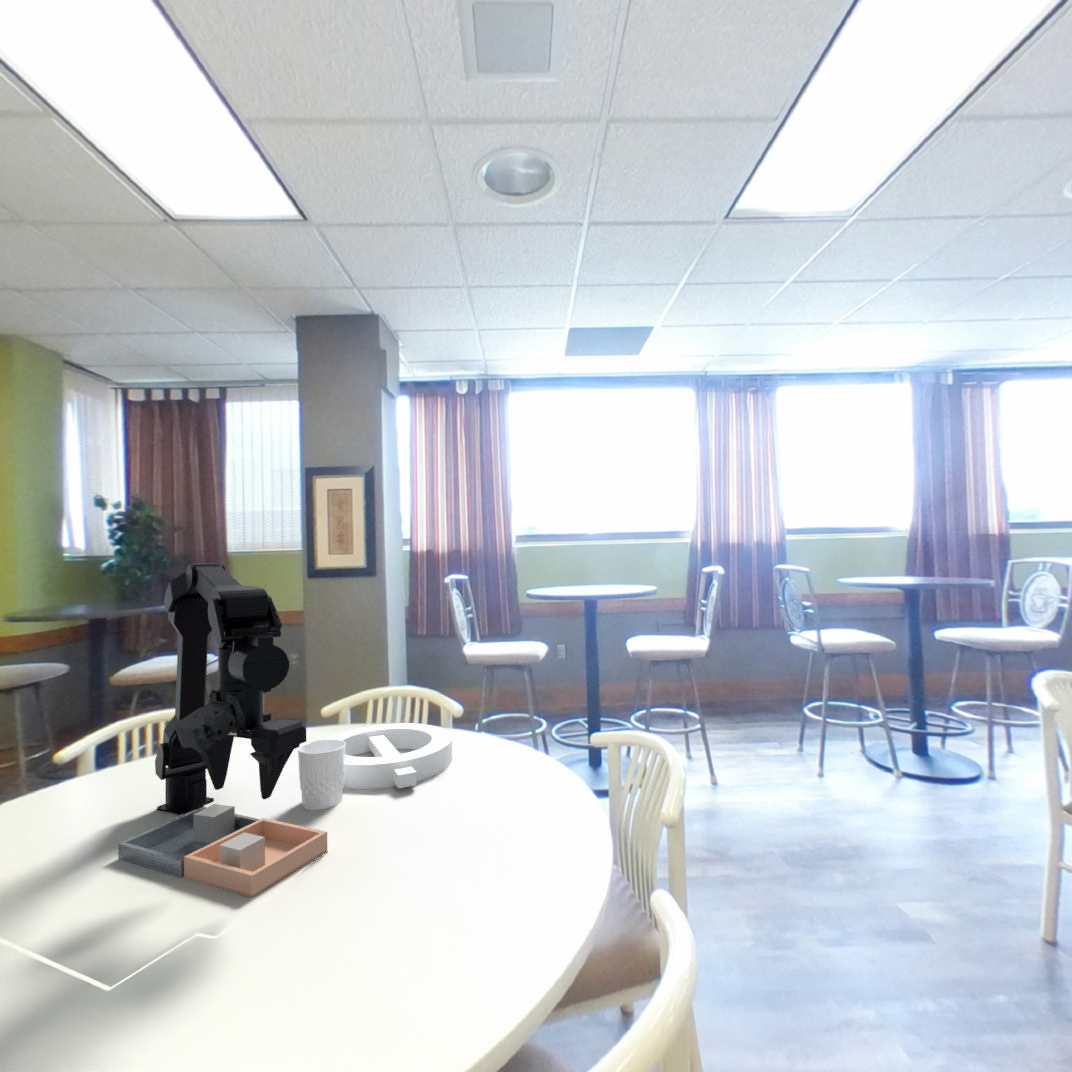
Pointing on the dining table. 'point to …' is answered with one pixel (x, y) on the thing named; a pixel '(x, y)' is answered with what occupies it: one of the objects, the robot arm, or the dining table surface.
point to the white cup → (321, 773)
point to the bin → (168, 845)
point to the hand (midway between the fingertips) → (242, 793)
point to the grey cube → (213, 823)
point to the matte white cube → (243, 852)
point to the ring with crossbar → (394, 754)
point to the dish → (282, 857)
